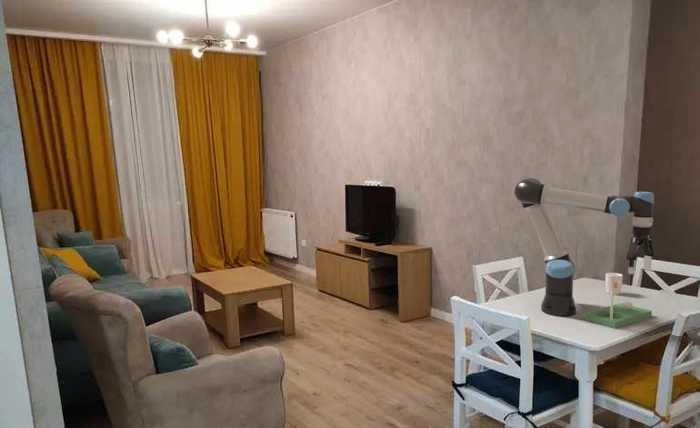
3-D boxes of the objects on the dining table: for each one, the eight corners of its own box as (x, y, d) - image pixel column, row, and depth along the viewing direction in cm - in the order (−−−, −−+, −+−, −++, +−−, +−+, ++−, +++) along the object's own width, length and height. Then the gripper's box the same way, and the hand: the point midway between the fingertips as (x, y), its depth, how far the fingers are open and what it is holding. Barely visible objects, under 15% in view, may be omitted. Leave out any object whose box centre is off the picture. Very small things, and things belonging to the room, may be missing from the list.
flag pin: (611, 320, 199) (613, 284, 198) (609, 320, 200) (610, 283, 198) (616, 319, 201) (618, 282, 199) (614, 318, 202) (615, 282, 200)
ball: (623, 310, 212) (623, 301, 212) (621, 307, 216) (621, 299, 216) (633, 311, 211) (633, 302, 211) (630, 308, 215) (631, 299, 214)
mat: (614, 328, 197) (614, 322, 197) (583, 319, 210) (584, 313, 209) (651, 316, 211) (651, 310, 211) (620, 308, 223) (620, 302, 223)
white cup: (622, 292, 249) (623, 273, 248) (621, 295, 243) (622, 276, 242) (605, 290, 253) (606, 272, 252) (604, 293, 247) (604, 275, 246)
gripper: (636, 229, 203) (633, 277, 206) (664, 224, 217) (661, 269, 219) (619, 227, 210) (616, 274, 212) (647, 222, 223) (644, 266, 225)
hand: (639, 271), depth 216 cm, fingers open, 13 cm apart
